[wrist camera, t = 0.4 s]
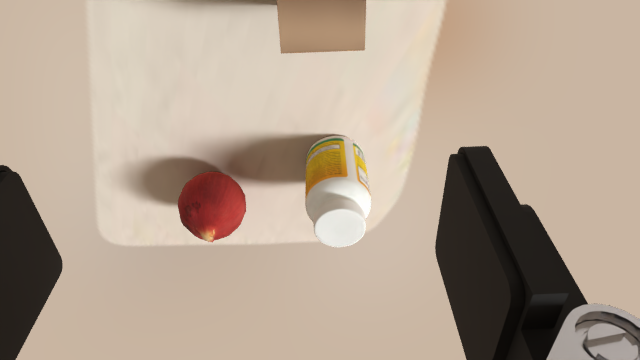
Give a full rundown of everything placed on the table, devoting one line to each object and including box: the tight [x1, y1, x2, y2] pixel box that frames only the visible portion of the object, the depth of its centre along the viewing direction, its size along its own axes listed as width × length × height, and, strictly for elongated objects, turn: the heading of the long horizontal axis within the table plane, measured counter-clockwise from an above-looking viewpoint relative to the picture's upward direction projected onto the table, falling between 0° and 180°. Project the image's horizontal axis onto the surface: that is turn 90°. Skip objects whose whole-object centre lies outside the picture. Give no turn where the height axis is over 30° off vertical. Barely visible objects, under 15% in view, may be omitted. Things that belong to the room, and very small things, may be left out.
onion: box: [178, 172, 246, 242], centre depth 43 cm, size 6×6×8 cm
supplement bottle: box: [305, 136, 371, 247], centre depth 41 cm, size 5×5×10 cm
